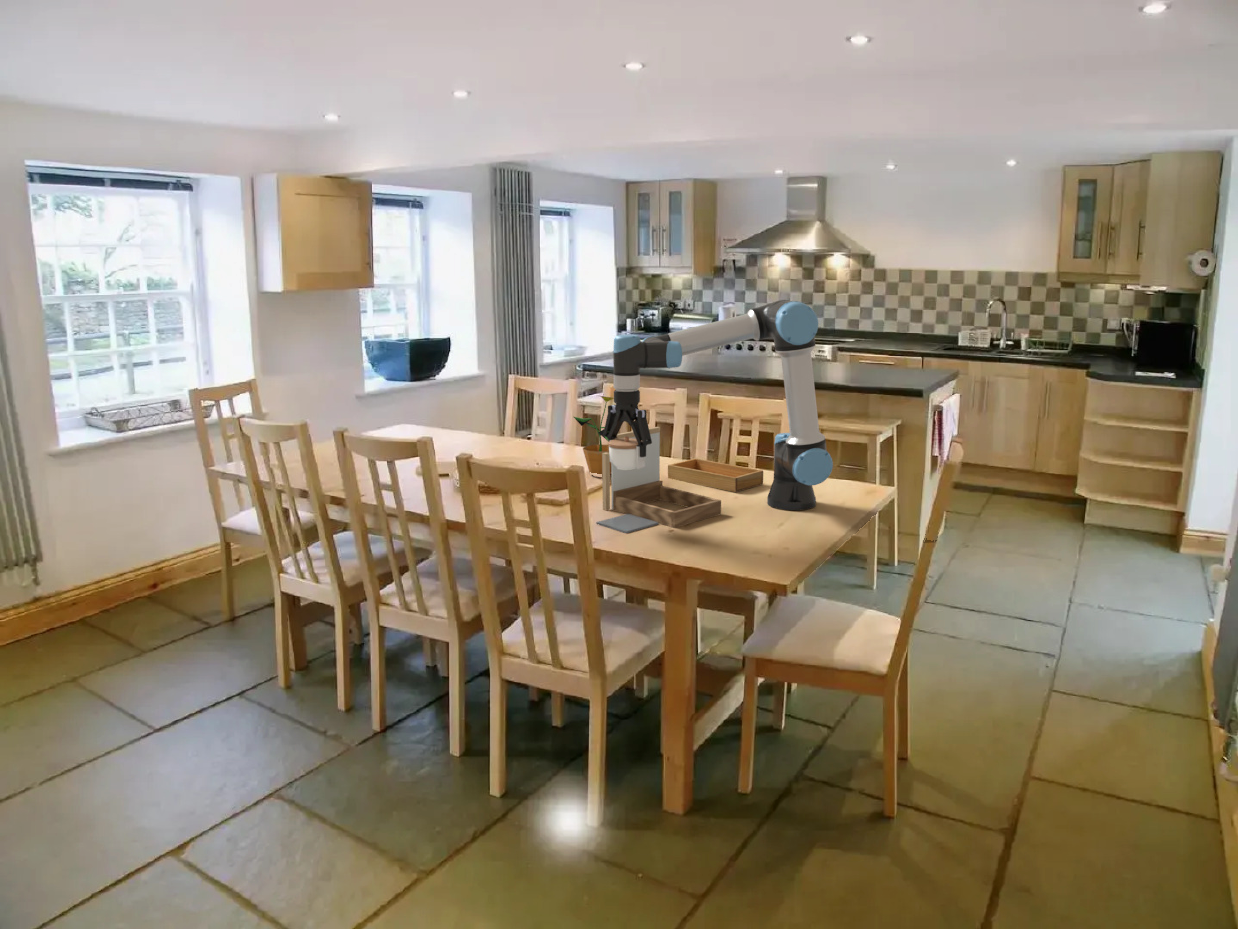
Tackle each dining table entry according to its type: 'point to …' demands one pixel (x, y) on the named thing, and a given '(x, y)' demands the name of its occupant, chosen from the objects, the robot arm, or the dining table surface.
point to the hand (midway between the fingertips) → (627, 464)
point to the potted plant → (595, 451)
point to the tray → (715, 474)
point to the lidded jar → (623, 453)
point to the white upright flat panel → (631, 477)
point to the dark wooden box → (639, 495)
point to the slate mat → (627, 523)
